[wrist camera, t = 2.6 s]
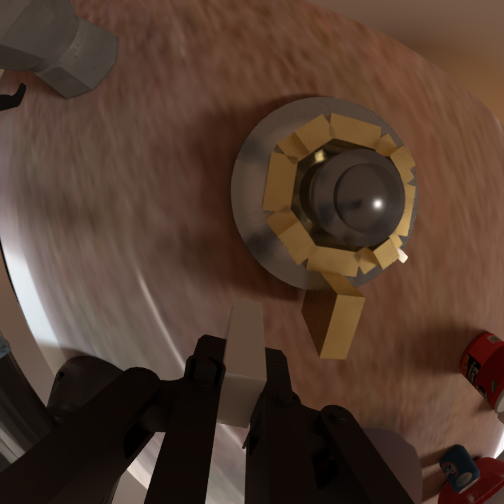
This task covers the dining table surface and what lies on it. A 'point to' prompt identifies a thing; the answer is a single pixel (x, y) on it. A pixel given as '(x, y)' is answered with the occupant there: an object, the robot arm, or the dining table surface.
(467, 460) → the soda can
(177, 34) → the dining table surface
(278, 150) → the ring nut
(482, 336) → the canned food
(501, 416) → the bottle
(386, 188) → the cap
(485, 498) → the mixing bowl
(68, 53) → the coffeepot
